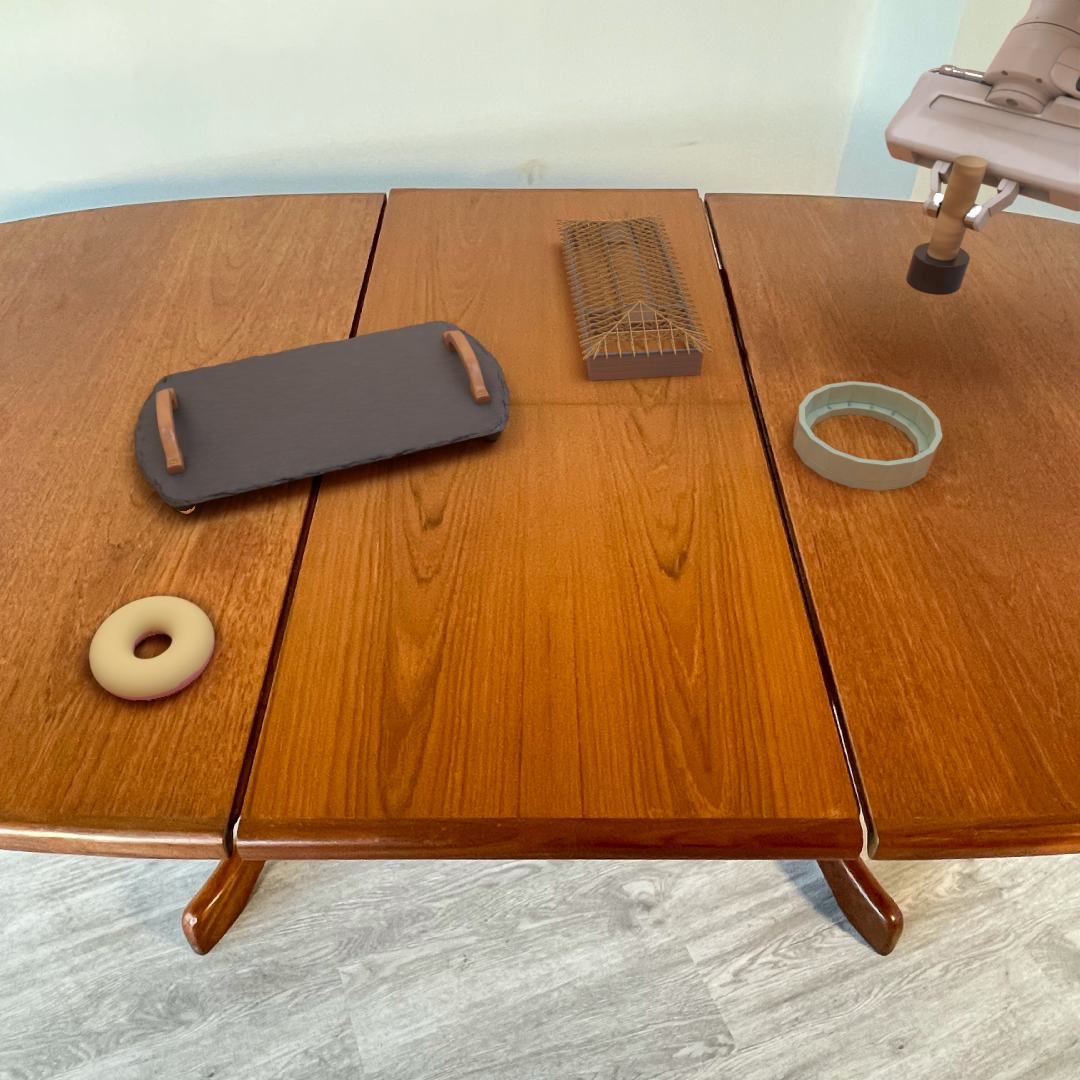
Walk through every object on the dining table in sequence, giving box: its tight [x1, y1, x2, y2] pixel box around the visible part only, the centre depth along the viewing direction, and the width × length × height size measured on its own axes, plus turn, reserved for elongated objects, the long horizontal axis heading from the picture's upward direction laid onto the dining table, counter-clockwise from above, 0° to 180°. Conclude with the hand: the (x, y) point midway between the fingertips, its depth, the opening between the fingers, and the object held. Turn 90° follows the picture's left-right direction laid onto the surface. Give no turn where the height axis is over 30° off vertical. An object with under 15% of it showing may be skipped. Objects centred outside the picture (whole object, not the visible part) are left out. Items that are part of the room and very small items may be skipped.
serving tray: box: [133, 320, 511, 511], centre depth 92 cm, size 39×23×6 cm, turn 110°
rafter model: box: [555, 213, 714, 382], centre depth 109 cm, size 35×14×6 cm, turn 4°
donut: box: [88, 595, 216, 701], centre depth 71 cm, size 10×5×9 cm
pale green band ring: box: [792, 380, 943, 492], centre depth 86 cm, size 13×13×5 cm
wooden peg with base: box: [905, 155, 988, 296], centre depth 84 cm, size 5×5×12 cm
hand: (950, 220), depth 83 cm, fingers closed on wooden peg with base, 3 cm apart
